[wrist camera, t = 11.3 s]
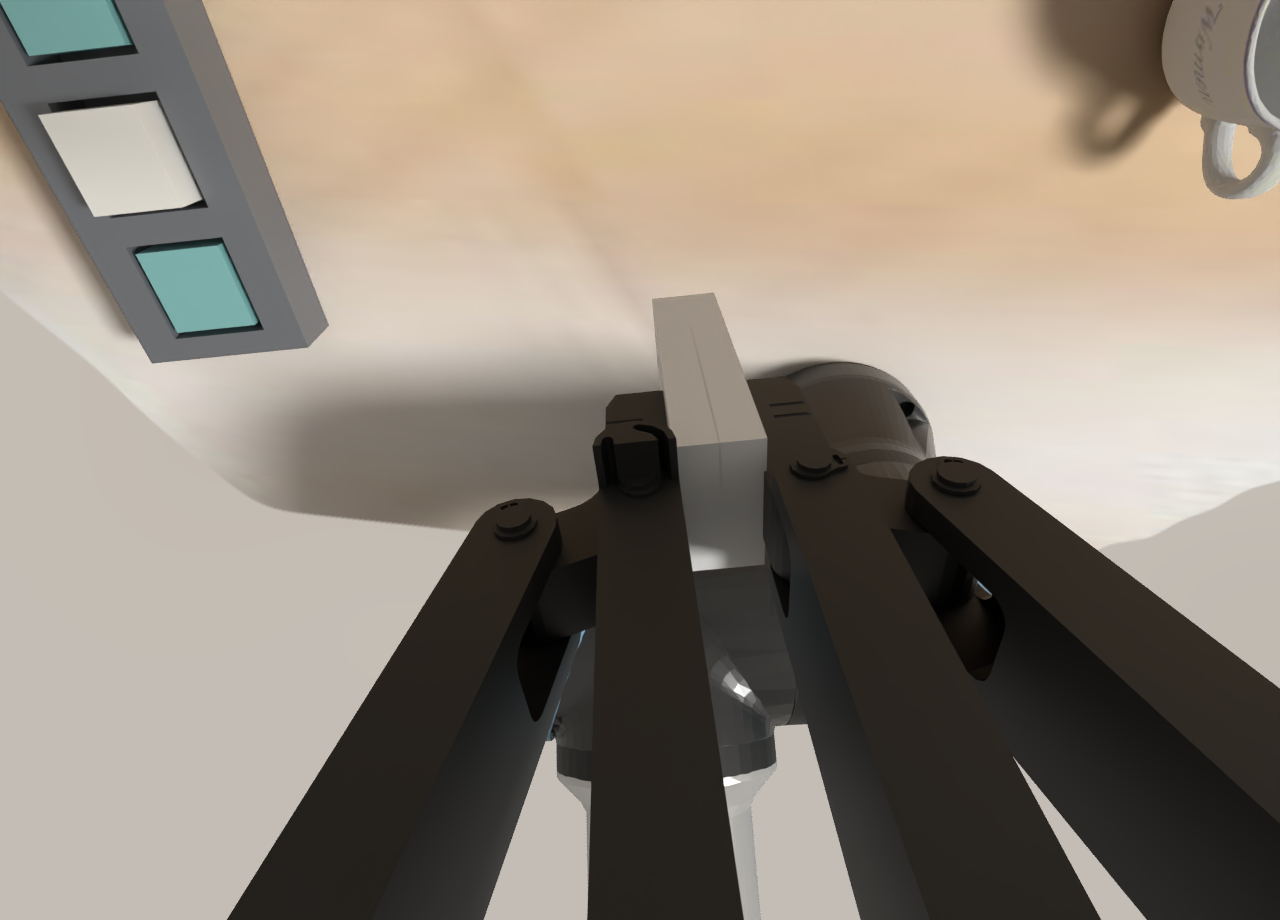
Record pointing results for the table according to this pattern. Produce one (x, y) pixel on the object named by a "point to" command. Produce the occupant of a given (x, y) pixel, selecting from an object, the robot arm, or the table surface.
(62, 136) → the white key
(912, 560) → the robot arm
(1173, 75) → the teacup
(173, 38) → the keyboard
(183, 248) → the teal key
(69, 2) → the teal key
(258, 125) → the table surface
